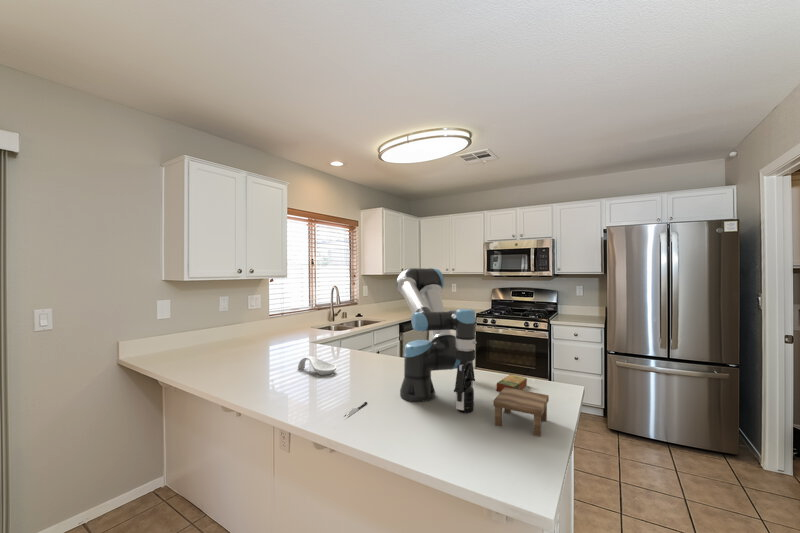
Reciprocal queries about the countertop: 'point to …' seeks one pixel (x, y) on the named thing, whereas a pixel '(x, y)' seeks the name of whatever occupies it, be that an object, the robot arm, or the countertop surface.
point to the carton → (512, 383)
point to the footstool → (521, 405)
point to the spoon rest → (318, 365)
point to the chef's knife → (356, 409)
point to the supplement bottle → (468, 397)
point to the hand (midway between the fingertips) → (464, 403)
